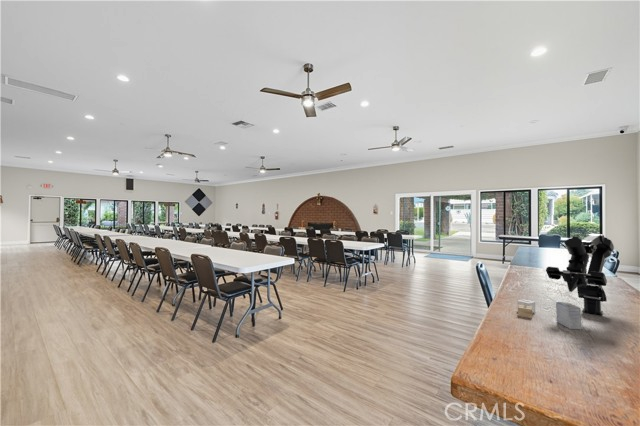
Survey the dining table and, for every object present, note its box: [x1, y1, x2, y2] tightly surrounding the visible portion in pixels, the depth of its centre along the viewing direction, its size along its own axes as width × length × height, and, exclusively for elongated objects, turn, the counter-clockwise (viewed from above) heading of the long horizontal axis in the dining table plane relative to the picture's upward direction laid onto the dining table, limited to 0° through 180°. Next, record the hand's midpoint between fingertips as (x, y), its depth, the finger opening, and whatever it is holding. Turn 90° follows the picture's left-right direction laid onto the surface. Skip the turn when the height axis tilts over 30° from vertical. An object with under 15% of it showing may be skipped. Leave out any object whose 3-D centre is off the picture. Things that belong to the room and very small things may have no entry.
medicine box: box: [555, 301, 583, 331], centre depth 114 cm, size 8×4×9 cm, turn 168°
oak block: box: [517, 305, 533, 319], centre depth 126 cm, size 5×5×4 cm
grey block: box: [517, 299, 536, 314], centre depth 131 cm, size 5×5×5 cm
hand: (570, 291), depth 116 cm, fingers closed
